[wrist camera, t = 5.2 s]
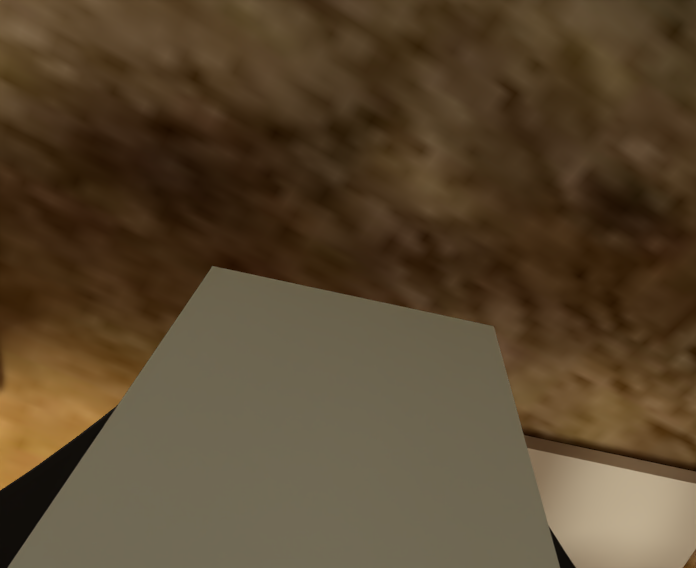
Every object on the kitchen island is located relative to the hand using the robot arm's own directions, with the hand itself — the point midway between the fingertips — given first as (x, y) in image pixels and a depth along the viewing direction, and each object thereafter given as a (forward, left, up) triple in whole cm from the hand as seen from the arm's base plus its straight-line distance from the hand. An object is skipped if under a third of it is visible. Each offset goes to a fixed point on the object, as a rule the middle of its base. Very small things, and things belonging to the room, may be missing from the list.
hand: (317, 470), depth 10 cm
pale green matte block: (0, 0, -2) cm, 2 cm away
